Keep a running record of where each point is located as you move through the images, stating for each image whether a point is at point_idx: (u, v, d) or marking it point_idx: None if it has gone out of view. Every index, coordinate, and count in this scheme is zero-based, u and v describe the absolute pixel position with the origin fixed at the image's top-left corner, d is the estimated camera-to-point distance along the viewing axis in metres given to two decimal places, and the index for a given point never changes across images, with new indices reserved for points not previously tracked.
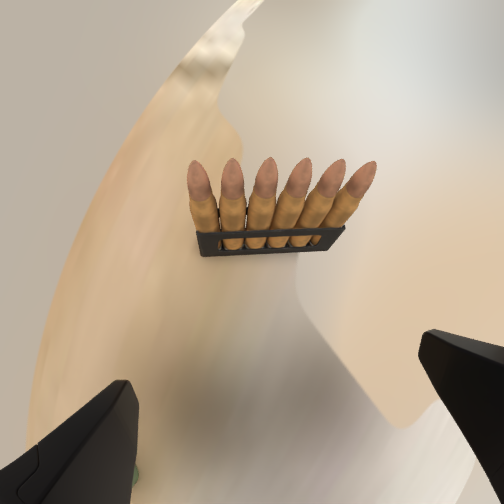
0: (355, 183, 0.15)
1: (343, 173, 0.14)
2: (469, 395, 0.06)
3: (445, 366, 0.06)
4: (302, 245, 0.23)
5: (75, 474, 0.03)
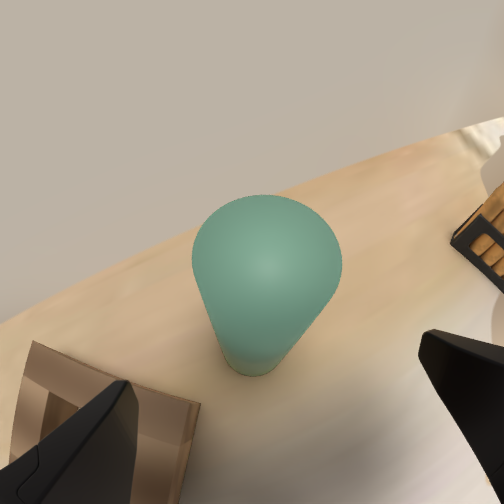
0: None
1: None
2: (469, 395, 0.06)
3: (445, 366, 0.06)
4: None
5: (75, 474, 0.03)
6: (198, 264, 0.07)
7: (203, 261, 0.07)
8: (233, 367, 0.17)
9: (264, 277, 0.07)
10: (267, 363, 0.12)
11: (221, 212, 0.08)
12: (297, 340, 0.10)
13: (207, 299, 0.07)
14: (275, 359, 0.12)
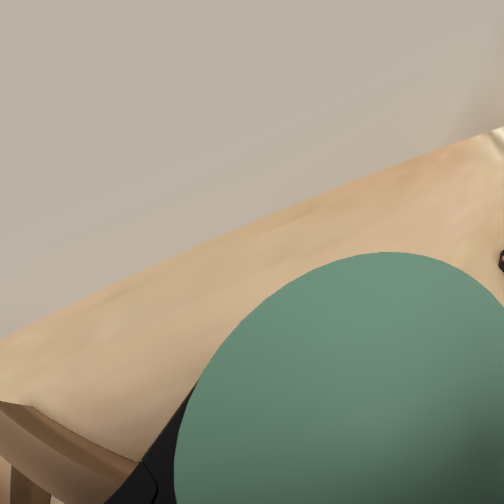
0: None
1: None
2: None
3: None
4: None
5: None
6: None
7: None
8: None
9: None
10: None
11: (265, 322, 0.02)
12: None
13: None
14: None
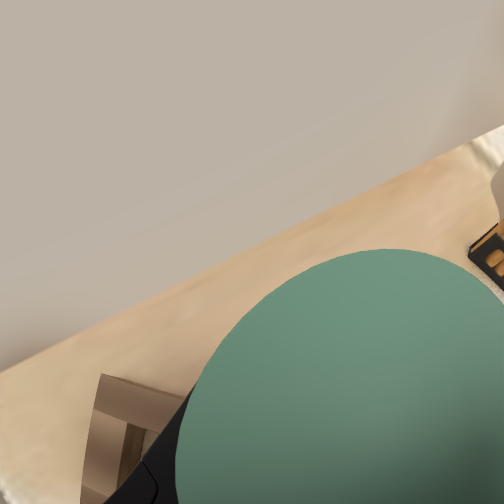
0: None
1: None
2: None
3: None
4: None
5: None
6: None
7: (216, 501, 0.02)
8: None
9: None
10: None
11: (266, 318, 0.02)
12: None
13: None
14: None
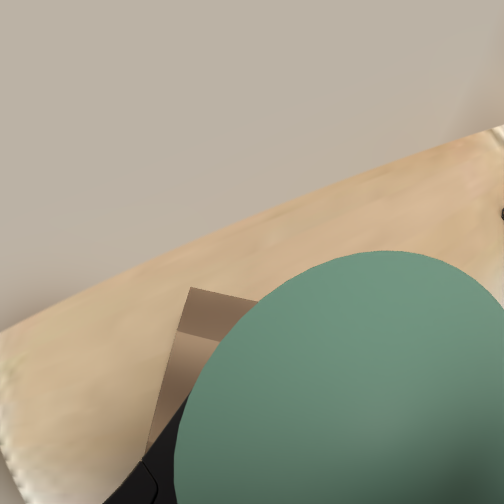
0: None
1: None
2: None
3: None
4: None
5: None
6: None
7: (214, 500, 0.02)
8: None
9: None
10: None
11: (264, 320, 0.02)
12: None
13: None
14: None
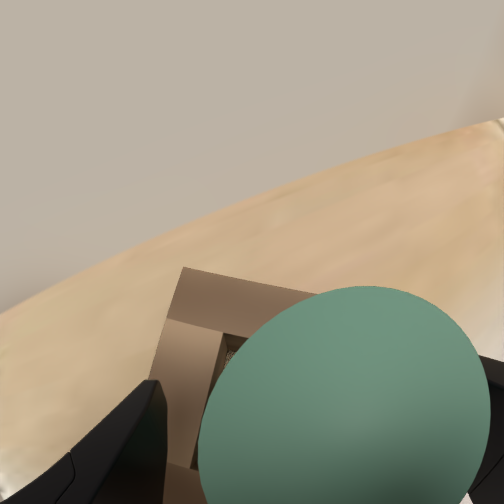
0: None
1: None
2: None
3: None
4: None
5: (113, 481, 0.03)
6: (215, 481, 0.02)
7: (227, 474, 0.02)
8: None
9: (366, 494, 0.02)
10: None
11: (263, 342, 0.03)
12: None
13: None
14: None
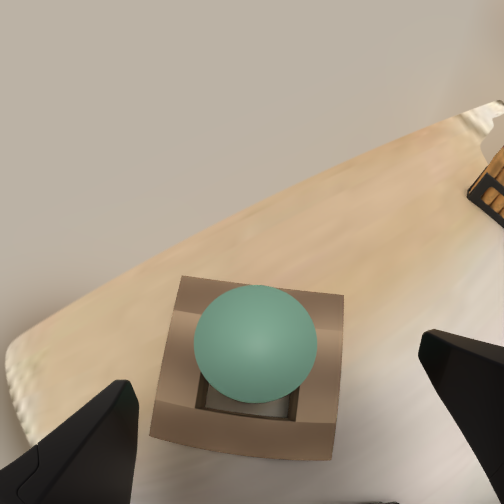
0: None
1: None
2: (469, 395, 0.06)
3: (445, 366, 0.06)
4: None
5: (75, 474, 0.03)
6: (199, 354, 0.09)
7: (203, 351, 0.09)
8: None
9: (253, 362, 0.09)
10: None
11: (213, 306, 0.10)
12: None
13: (210, 383, 0.08)
14: None
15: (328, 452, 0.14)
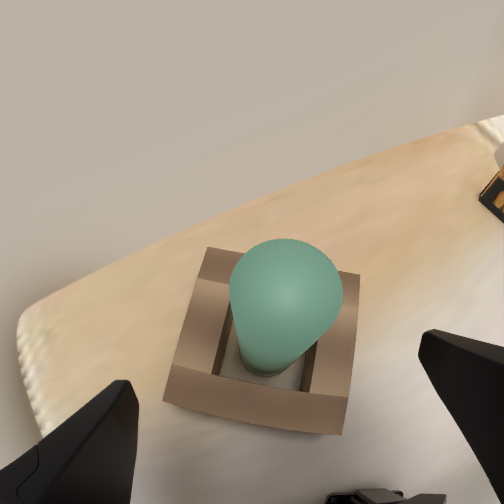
0: None
1: None
2: (469, 395, 0.06)
3: (445, 366, 0.06)
4: None
5: (75, 474, 0.03)
6: (234, 297, 0.10)
7: (238, 295, 0.10)
8: (250, 369, 0.19)
9: (284, 307, 0.10)
10: (281, 366, 0.15)
11: (249, 254, 0.11)
12: None
13: (242, 324, 0.09)
14: (288, 363, 0.14)
15: (339, 426, 0.15)
